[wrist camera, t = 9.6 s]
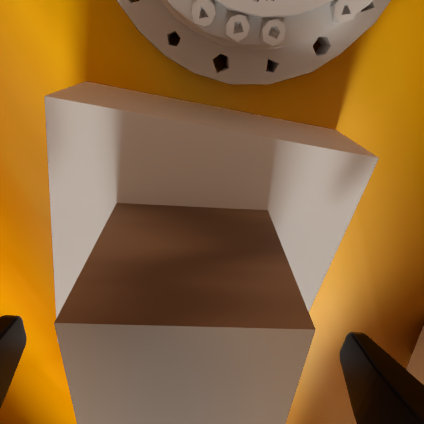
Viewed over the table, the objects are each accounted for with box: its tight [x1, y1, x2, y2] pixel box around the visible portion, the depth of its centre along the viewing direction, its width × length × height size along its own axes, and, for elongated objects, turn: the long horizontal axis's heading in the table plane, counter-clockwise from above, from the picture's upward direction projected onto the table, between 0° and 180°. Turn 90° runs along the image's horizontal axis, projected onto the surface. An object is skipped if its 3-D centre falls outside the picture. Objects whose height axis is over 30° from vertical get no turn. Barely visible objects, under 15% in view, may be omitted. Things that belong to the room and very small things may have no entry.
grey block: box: [45, 81, 379, 339], centre depth 13 cm, size 10×10×4 cm
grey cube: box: [54, 203, 315, 424], centre depth 9 cm, size 5×5×5 cm
